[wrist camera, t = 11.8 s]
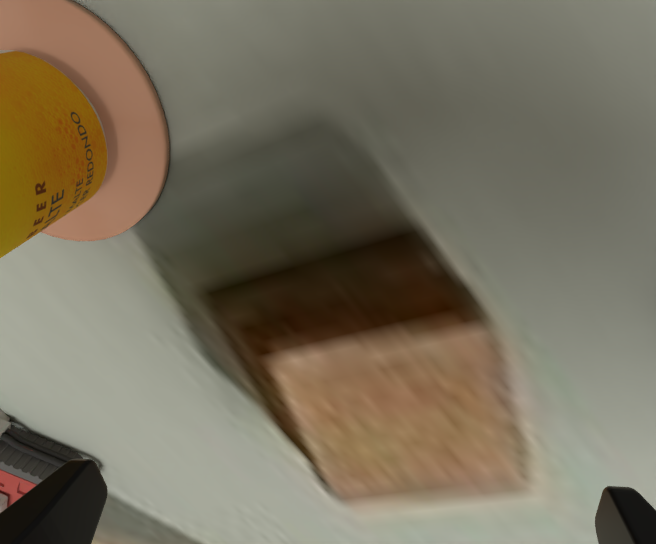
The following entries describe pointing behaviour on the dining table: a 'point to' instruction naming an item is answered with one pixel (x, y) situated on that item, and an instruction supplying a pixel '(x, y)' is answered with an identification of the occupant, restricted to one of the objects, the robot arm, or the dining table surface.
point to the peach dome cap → (99, 109)
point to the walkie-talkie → (26, 461)
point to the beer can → (44, 147)
